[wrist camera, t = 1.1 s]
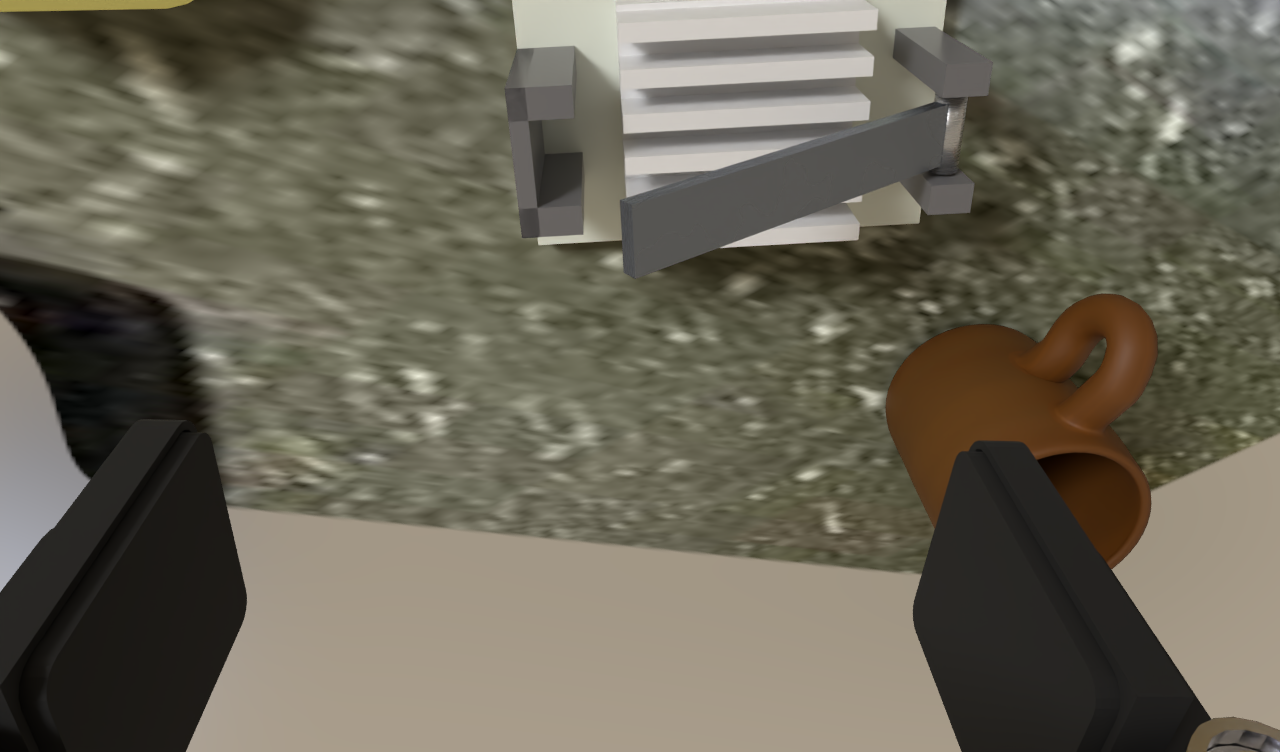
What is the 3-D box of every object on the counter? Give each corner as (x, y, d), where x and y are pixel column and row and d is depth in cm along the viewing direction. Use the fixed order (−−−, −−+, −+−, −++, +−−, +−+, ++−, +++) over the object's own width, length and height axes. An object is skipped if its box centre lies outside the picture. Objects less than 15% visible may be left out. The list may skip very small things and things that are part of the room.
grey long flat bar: (948, 84, 30) (975, 90, 29) (938, 163, 31) (963, 170, 31) (613, 185, 23) (637, 195, 22) (618, 279, 24) (641, 292, 24)
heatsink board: (943, -59, 32) (1017, -32, 26) (911, 214, 37) (968, 283, 32) (510, -36, 32) (493, -5, 26) (539, 235, 37) (530, 309, 31)
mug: (964, 205, 37) (1067, 312, 29) (1130, 246, 38) (1272, 359, 30) (854, 442, 43) (915, 586, 35) (1002, 471, 44) (1092, 616, 36)
